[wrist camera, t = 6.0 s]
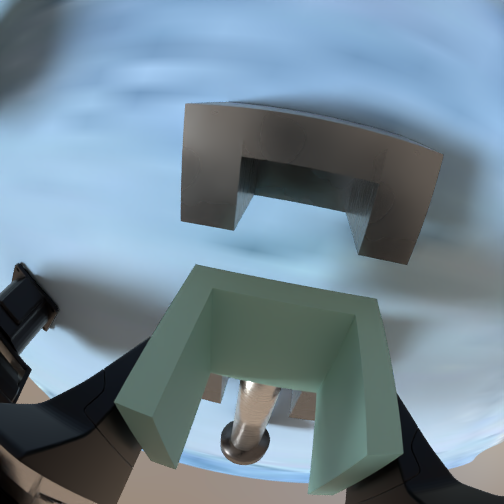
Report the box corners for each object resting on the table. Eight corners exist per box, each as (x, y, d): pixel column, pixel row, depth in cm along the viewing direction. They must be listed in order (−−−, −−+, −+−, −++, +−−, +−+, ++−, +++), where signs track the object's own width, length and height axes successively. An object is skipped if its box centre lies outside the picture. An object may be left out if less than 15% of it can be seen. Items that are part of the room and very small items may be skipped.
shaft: (269, 430, 24) (262, 468, 21) (226, 422, 25) (215, 459, 21) (315, 316, 16) (312, 378, 12) (239, 302, 16) (219, 360, 12)
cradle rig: (321, 363, 19) (319, 421, 15) (211, 341, 20) (190, 395, 16) (399, 134, 11) (443, 154, 7) (227, 102, 12) (185, 103, 8)
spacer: (336, 376, 11) (332, 495, 7) (197, 349, 12) (150, 460, 7) (376, 298, 9) (403, 453, 4) (195, 264, 10) (113, 402, 5)
